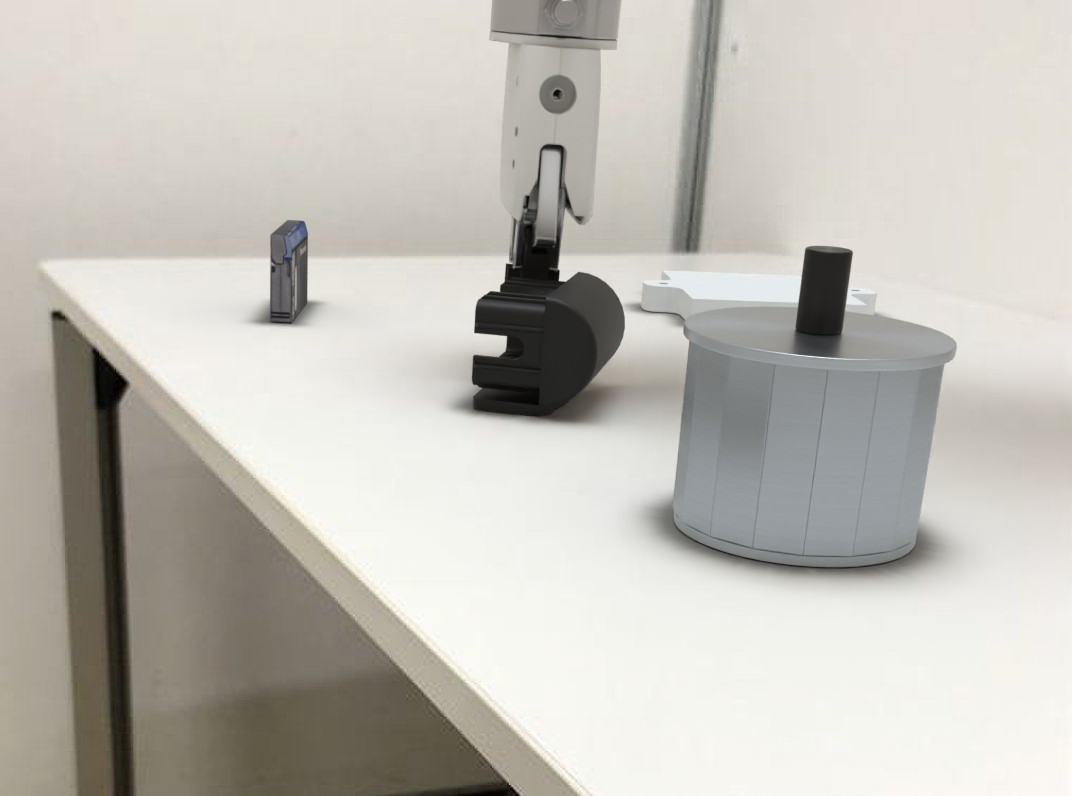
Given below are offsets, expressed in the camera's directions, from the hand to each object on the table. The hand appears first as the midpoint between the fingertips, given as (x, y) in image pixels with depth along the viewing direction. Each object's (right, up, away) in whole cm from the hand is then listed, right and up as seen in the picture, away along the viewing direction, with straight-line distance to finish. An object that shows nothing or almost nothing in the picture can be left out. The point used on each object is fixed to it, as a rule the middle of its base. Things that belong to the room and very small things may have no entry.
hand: (527, 330), depth 101 cm
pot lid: (+11, -6, -31) cm, 33 cm away
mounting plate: (+19, +6, +24) cm, 31 cm away
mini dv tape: (-16, +4, +16) cm, 23 cm away
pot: (+10, -14, -28) cm, 33 cm away
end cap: (+1, -5, -6) cm, 8 cm away
